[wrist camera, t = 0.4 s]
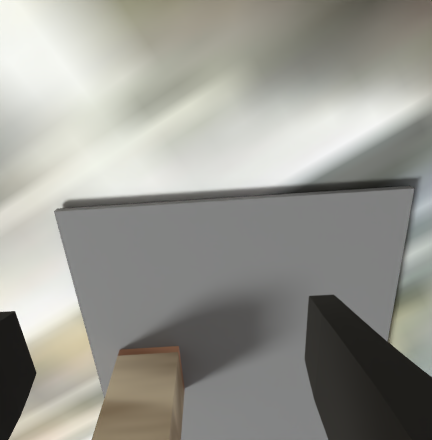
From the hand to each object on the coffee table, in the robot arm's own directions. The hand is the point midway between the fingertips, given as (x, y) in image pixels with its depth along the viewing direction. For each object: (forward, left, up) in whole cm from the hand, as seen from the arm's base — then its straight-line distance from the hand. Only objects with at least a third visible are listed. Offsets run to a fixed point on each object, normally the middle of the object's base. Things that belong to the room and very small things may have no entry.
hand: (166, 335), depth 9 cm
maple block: (-11, +3, -10) cm, 15 cm away
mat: (-10, -2, -10) cm, 14 cm away
